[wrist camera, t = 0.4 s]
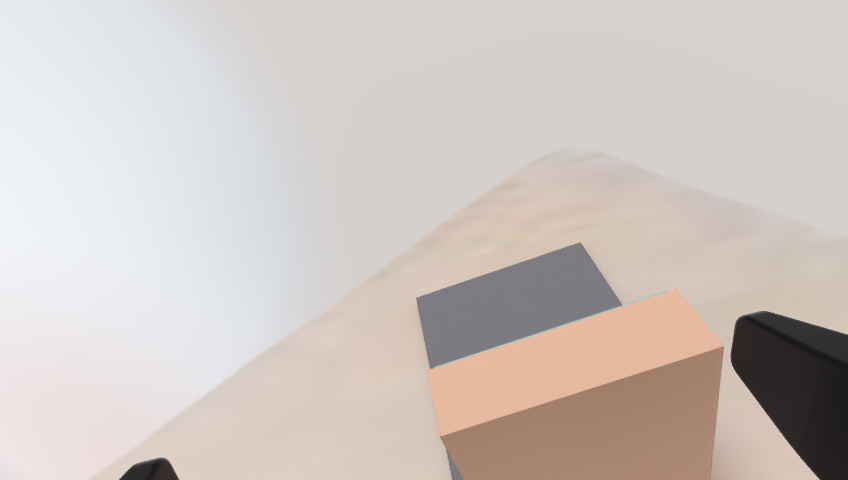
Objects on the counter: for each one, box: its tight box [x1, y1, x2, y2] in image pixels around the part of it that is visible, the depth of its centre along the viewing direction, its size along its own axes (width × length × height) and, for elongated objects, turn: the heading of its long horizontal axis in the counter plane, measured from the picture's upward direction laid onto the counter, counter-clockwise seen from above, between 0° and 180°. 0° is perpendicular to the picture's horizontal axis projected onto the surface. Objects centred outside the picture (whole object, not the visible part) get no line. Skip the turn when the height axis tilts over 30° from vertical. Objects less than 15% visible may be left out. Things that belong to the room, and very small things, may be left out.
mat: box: [416, 243, 622, 480], centre depth 27 cm, size 13×11×1 cm
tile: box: [427, 289, 724, 480], centre depth 18 cm, size 2×8×10 cm, turn 99°
